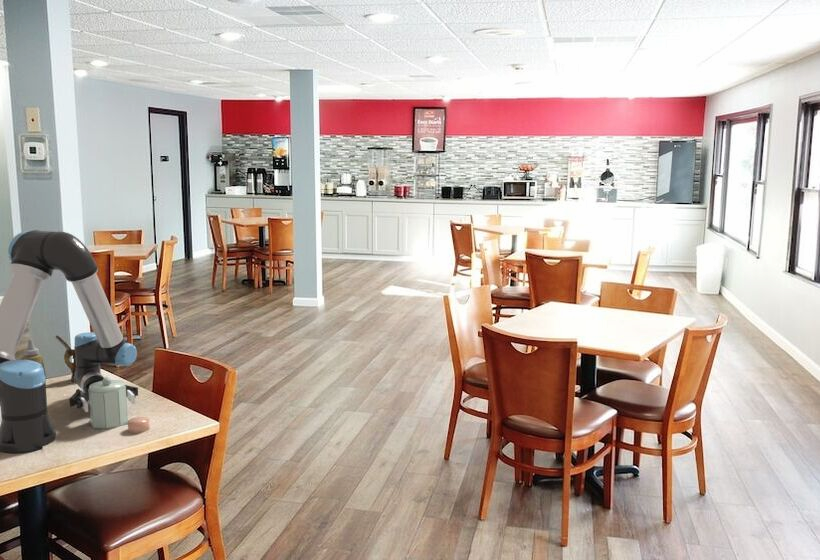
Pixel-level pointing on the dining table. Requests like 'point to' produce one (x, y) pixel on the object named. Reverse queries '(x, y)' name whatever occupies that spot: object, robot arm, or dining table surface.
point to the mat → (107, 428)
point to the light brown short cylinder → (138, 425)
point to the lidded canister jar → (108, 403)
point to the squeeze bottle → (33, 354)
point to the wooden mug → (67, 356)
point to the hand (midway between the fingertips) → (110, 403)
